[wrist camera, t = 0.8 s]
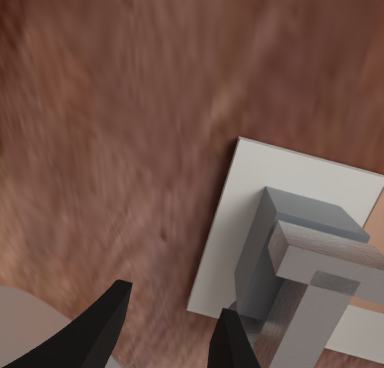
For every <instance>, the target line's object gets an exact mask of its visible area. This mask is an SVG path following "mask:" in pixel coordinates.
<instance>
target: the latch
mask: <svg viewBox="0 0 384 368" xmlns="http://www.w3.org/2000/svg"><path fill="white" fill-rule="evenodd" d="M268 250H269V253H270V257H271V260H272V264H273V267H274V270H275V274H276V276H279V277H283V278H285V279H284V281H283V284H282V286H281V288H280V290H279V293H278V295H277V297H276V299H275V302H274V304H273V306H272V308H271V311H270V313H269V315H268V318H267V320H266V321H262V320H259V319H255V318H251V317H248V316H244V315H240V314H239V317H240V320H241V322H242V325H243V327H244V330H245V332H246V335H247V337H248V340H249V342H250V344H251V347H252V349H253V351H254V353H255V356H256V358H257V360H258V362H259V364H260V366H261V368H313V367H314V366H315V364H316V362H317V360H318V358H319V357H320V355H321V353H322V351H323V349H324V348H325V346H326V344H327V342H328V340H329V339H330V337H331V335H332V333H333V331H334V330H335V328H336V326H337V324H338V323H339V321H340V319H341V317H342V315H343V314H344V312H345V310H346V308H347V306H348V305H349V303H350V301H351V299H352V297H357V298H360V299H364V300H368V301H371V302H375V303H379V304H382V305H384V255H383V254H382V253H381V252H380V251H379V250H378V249H377V248H376V247H375V246H372V245H369V244H365V243H361V242H358V241H354V240H350V239H347V238H343V237H339V236H335V235H332V234H328V233H324V232H321V231H317V230H313V229H309V228H306V227H302V226H298V225H295V224H291V223H287V222H283V221H280V220H278V222H277V224H276V227H275V229H274V232H273V234H272V237H271V239H270V242H269V244H268Z"/></svg>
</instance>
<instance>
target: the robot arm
mask: <svg viewBox="0 0 384 368" xmlns="http://www.w3.org/2000/svg"><path fill="white" fill-rule="evenodd" d="M132 284H133V283H131V282H127V281H123V280H120V279H118V280H116V281H115V282H114V283H113V285H112V286H111V287H110V288H109V289H108V290H107V291H106V292H105V293H104V294H103V295H102V296H101V297H100V298H99V299H98V300H97V301H96V302H94V303H93V304H92V305H91V306H90V307H89V308H88V309H87V310H85V311H84V312H83V313H82V314H81V315H80V316H78V317H77V318H76V319H75V320H73V321H72V322H71V323H70V324H68V325H67V326H66V327H65V328H63V329H62V330H60V331H59V332H58V333H56V334H55V335H54V336H52V337H51V338H50V339H48V340H46V341H45V342H43V343H42V344H41V345H39V346H37V347H36V348H34V349H33V350H31V351H29V352H28V353H26V354H25V355H23V356H22V357H20V358H18V359H16V360H15V361H13V362H11V363H9V364H8V365H6V366H4V367H2V368H105V365H106V363H107V361H108V359H109V357H110V355H111V353H112V351H113V349H114V347H115V345H116V342H117V340H118V337H119V334H120V331H121V329H122V326H123V323H124V320H125V316H126V312H127V307H128V303H129V298H130V293H131V289H132ZM207 368H261V366H260V364H259V362H258V360H257V358H256V356H255V353H254V351H253V349H252V347H251V344H250V342H249V340H248V337H247V335H246V332H245V330H244V327H243V325H242V322H241V320H240V317H239V314H238V312H237V311H234V310H230V309H227V308H222V311H221V314H220V316H219V319H218V322H217V325H216V327H215V330H214V333H213V336H212V338H211V341H210V346H209V355H208V366H207Z"/></svg>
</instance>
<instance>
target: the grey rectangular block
mask: <svg viewBox="0 0 384 368" xmlns="http://www.w3.org/2000/svg"><path fill="white" fill-rule="evenodd" d="M278 220H280V221H283V222H287V223H291V224H295V225H298V226H302V227H306V228H309V229H313V230H317V231H321V232H324V233H328V234H332V235H335V236H339V237H343V238H347V239H350V240H354V241H358V242H361V243H365V244H367V243H368V241H369V239H370V236H369V235H368V233H367V232H366V231H365V230H364V229H363V228H362V227H361V226H360V225H359V224H358V223H357V222H356V221H355V220H354V219H353V218H352V217H351V216H350V215H349V214H348V213H347V212H346V211H345V210H344V209H343V208H342V207H341V206H338V205H334V204H331V203H327V202H323V201H320V200H316V199H312V198H308V197H305V196H301V195H297V194H293V193H290V192H286V191H282V190H279V189H275V188H271V187H267V186H266V187H265V189H264V192H263V195H262V198H261V200H260V203H259V206H258V208H257V211H256V214H255V217H254V219H253V222H252V225H251V228H250V230H249V233H248V236H247V239H246V241H245V244H244V247H243V250H242V252H241V255H240V258H239V261H238V263H237V266H236V269H235V272H234V277H235V291H236V304H237V312H238V314H240V315H244V316H248V317H251V318H255V319H259V320H262V321H266V320H267V318H268V315H269V313H270V311H271V308H272V306H273V304H274V302H275V299H276V297H277V295H278V293H279V290H280V288H281V286H282V284H283V281H284V279H285V278H283V277H279V276H276V274H275V270H274V267H273V264H272V260H271V257H270V253H269V250H268V244H269V242H270V239H271V237H272V234H273V232H274V229H275V227H276V224H277V222H278Z"/></svg>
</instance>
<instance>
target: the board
mask: <svg viewBox="0 0 384 368" xmlns="http://www.w3.org/2000/svg"><path fill="white" fill-rule="evenodd" d="M266 186H267V187H271V188H275V189H279V190H282V191H286V192H290V193H293V194H297V195H301V196H305V197H308V198H312V199H316V200H320V201H323V202H327V203H331V204H334V205H338V206H341V207H342V208H343V209H344V210H345V211H346V212H347V213H348V214H349V215H350V216H351V217H352V218H353V219H354V220H355V221H356V222H357V223H358V224H359V225H360V226H361V227H362V228H363V229H364V230H365V231H366V232H367V233H368V235H369V236H370V239H369V241H368V243H367V244H369V245H372V246H375V247H376V248H377V249H378V250H379V251H380V252H381V253H382V254H383V255H384V175H381V174H378V173H374V172H370V171H366V170H363V169H359V168H355V167H351V166H348V165H344V164H340V163H337V162H333V161H329V160H325V159H322V158H318V157H314V156H310V155H307V154H303V153H299V152H296V151H292V150H288V149H284V148H281V147H277V146H273V145H269V144H266V143H262V142H258V141H254V140H251V139H247V138H243V137H240V136H239V138H238V141H237V145H236V148H235V151H234V154H233V158H232V161H231V164H230V167H229V170H228V174H227V177H226V180H225V183H224V187H223V190H222V193H221V196H220V200H219V203H218V206H217V209H216V213H215V216H214V219H213V222H212V225H211V229H210V232H209V235H208V238H207V242H206V245H205V248H204V251H203V255H202V258H201V261H200V264H199V268H198V271H197V274H196V277H195V280H194V284H193V287H192V290H191V293H190V297H189V300H188V305H187V311H191V312H195V313H198V314H202V315H206V316H209V317H213V318H217V319H219V316H220V314H221V311H222V308H227V309H230V310H234V311H237V304H236V291H235V277H234V272H235V269H236V266H237V263H238V261H239V258H240V255H241V252H242V250H243V247H244V244H245V241H246V239H247V236H248V233H249V230H250V228H251V225H252V222H253V219H254V217H255V214H256V211H257V208H258V206H259V203H260V200H261V198H262V195H263V192H264V189H265V187H266ZM325 348H327V349H331V350H334V351H338V352H342V353H346V354H349V355H353V356H357V357H360V358H364V359H368V360H371V361H375V362H379V363H382V364H384V305H382V304H379V303H375V302H371V301H368V300H364V299H360V298H357V297H352V299H351V301H350V303H349V305H348V306H347V308H346V310H345V312H344V314H343V315H342V317H341V319H340V321H339V323H338V324H337V326H336V328H335V330H334V331H333V333H332V335H331V337H330V339H329V340H328V342H327V344H326V346H325Z"/></svg>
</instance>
